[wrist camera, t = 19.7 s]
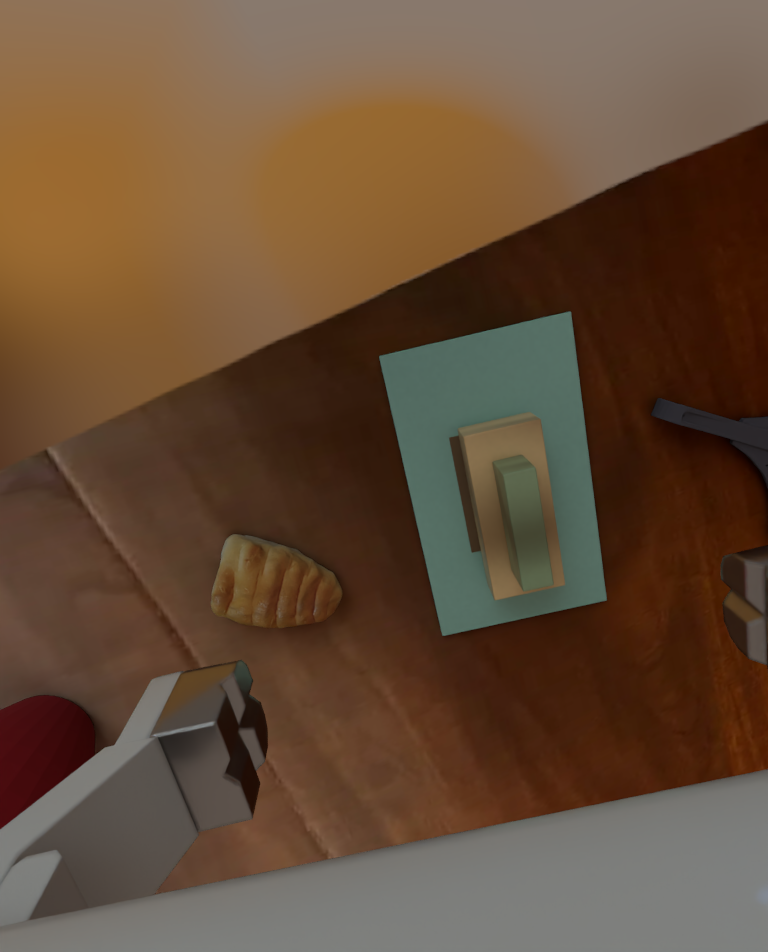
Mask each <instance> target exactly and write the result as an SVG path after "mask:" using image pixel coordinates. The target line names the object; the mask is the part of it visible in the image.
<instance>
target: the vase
mask: <svg viewBox="0 0 768 952" xmlns="http://www.w3.org/2000/svg"><path fill="white" fill-rule="evenodd" d="M94 755H95V731H94V727H93V724H92V722H91V720H90V718H89V717H88V715H87V714H86V713H85V712H84V711H83V710H82V709H81V708H80V707H79V706H77V705H76V704H74V703H72V702H71V701H68V700H66V699H64V698H60V697H56V696H49V695H42V696H34V697H30V698H27V699H24V700H22V701H20V702H17V703H15V704H13V705H11V706H8V707H6V708H4V709H2V710H0V829H2V828H3V827H4V826H5V825H7V824H8V823H9V822H10V821H12V820H13V819H14V818H16V817H17V816H18V815H19V814H21V813H22V812H23V811H24V810H26V809H27V808H28V807H30V806H31V805H32V804H33V803H35V802H36V801H37V800H39V799H40V798H41V797H42V796H44V795H45V794H46V793H47V792H49V791H50V790H51V789H53V788H54V787H55V786H56V785H58V784H59V783H60V782H61V781H63V780H64V779H65V778H67V777H68V776H69V775H70V774H72V773H73V772H74V771H75V770H77V769H78V768H79V767H81V766H82V765H83V764H84V763H86V762H87V761H88V760H90V759H91V758H92V757H93V756H94Z"/></svg>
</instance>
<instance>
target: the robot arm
mask: <svg viewBox="0 0 768 952" xmlns="http://www.w3.org/2000/svg"><path fill="white" fill-rule="evenodd" d="M721 580H722V581H723V582H724V583H725V584H726V585H727V586H728V587H729V588H730V589H731V590H730V592H729V593H728V595H727V597H726V598H725V600H724V601H723V603H722V604H723V614H724V622H725V624H726V627H727V630H728V632H729V635H730V637H731V639H732V640H733V642H734V643H735V645H736V646H737V648H738V649H739V650H740V651H741V652H742V653H743V654H744V655H745V656H746V657H747V658H748V659H751V660H754V661H757V662H759V663H762V664H765V665H767V667H768V545H766V546H762V547H758V548H754V549H749V550H745V551H741V552H737V553H733V554H729V555H725V556H723V559H722V563H721ZM252 683H253V679H252V677H251V674H250V672H249V669H248V667H247V664H245V663H244V662H243V661H242V660H238V661H233V662H228V663H223V664H218V665H213V666H208V667H203V668H198V669H192V670H187V671H185V672H183V671H181V672H176V673H172V674H168V675H164V676H160V677H157V678H155V679H153V680H151V682H150V683H149V685H148V687H147V689H146V690H145V692H144V694H143V696H142V698H141V699H140V701H139V703H138V705H137V706H136V708H135V710H134V712H133V713H132V715H131V717H130V719H129V720H128V722H127V724H126V726H125V727H124V729H123V731H122V733H121V735H120V736H119V738H118V740H117V742H116V743H115V745H114V746H109V747H105V748H104V749H102V750H101V751H100V752H98V753H97V754H96V755H95V756H93V757H92V758H91V759H90V760H88V761H87V762H86V763H84V764H83V765H82V766H81V767H79V768H78V769H77V770H75V771H74V772H73V773H72V774H70V775H69V776H68V777H67V778H65V779H64V780H63V781H61V782H60V783H59V784H58V785H56V786H55V787H54V788H53V789H51V790H50V791H49V792H47V793H46V794H45V795H44V796H42V797H41V798H40V799H39V800H37V801H36V802H35V803H33V804H32V805H31V806H30V807H28V808H27V809H26V810H24V811H23V812H22V813H21V814H19V815H18V816H17V817H16V818H14V819H13V820H12V821H10V822H9V823H8V824H7V825H5V826H4V827H3V828H2V829H0V952H768V769H767V770H762V771H757V772H752V773H748V774H743V775H738V776H733V777H728V778H723V779H718V780H713V781H708V782H704V783H699V784H694V785H689V786H684V787H679V788H674V789H669V790H664V791H660V792H655V793H650V794H645V795H640V796H635V797H631V798H626V799H621V800H616V801H611V802H606V803H601V804H596V805H591V806H586V807H582V808H577V809H572V810H567V811H562V812H557V813H552V814H547V815H542V816H538V817H533V818H528V819H523V820H518V821H513V822H508V823H503V824H498V825H493V826H489V827H484V828H479V829H474V830H469V831H464V832H459V833H454V834H449V835H444V836H440V837H435V838H430V839H425V840H420V841H415V842H410V843H405V844H400V845H396V846H391V847H386V848H381V849H376V850H371V851H366V852H361V853H356V854H351V855H347V856H342V857H337V858H332V859H327V860H322V861H317V862H312V863H307V864H302V865H298V866H293V867H288V868H283V869H278V870H273V871H268V872H263V873H258V874H254V875H249V876H244V877H239V878H234V879H229V880H224V881H219V882H214V883H209V884H205V885H200V886H195V887H190V888H185V889H180V890H175V891H170V892H165V893H160V894H156V895H154V894H155V892H156V891H157V890H158V888H159V887H160V886H161V884H162V883H163V882H164V881H165V879H166V878H167V877H168V875H169V874H170V873H171V871H172V870H173V869H174V867H175V866H176V865H177V863H178V862H179V861H180V859H181V858H182V857H183V855H184V854H185V853H186V851H187V850H188V849H189V847H190V846H191V845H192V843H193V842H194V841H195V839H196V838H197V837H198V836H199V834H198V832H201V831H205V830H209V829H213V828H217V827H221V826H226V825H230V824H234V823H238V822H242V821H246V820H251V819H252V818H253V814H254V809H255V805H256V800H257V796H258V791H259V787H260V781H259V778H258V776H257V773H256V770H257V769H258V768H259V767H260V766H261V765H262V764H263V763H264V762H265V758H266V753H267V748H268V731H267V724H266V719H265V714H264V711H263V708H262V705H261V702H259V701H258V700H256V699H255V698H254V697H252V696H251V695H249V693H250V690H251V686H252Z"/></svg>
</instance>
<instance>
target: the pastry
mask: <svg viewBox="0 0 768 952" xmlns="http://www.w3.org/2000/svg"><path fill="white" fill-rule="evenodd" d="M342 593H343V592H342V588H341V586H340V584H339V582H338V580H337V578H336V576H335V575H334V573H333V572H332V571H329V570H327V569H326V568H324V567H323V566H321V565H319V564H317V563H316V562H315V561H314V560H313V559H311V558H308V557H306V556H304V555H303V554H302V553H301V552H300V551H298V550H297V549H294V548H289V547H286V546H284V545H280V544H276V543H274V542H272V541H271V542H269V541H267V540H263V539H261V538H257V537H254V536H243V535H238V534H233V535H231V536H229V537H228V538H227V539H226V541H225V544H224V546H223V550H222V552H221V561H220V567H219V569H218V573H217V577H216V579H215V583H214V586H213V589H212V600H211V609H212V611H213V612H214V613H215V614H216V615H217V616H224V617H227V618H229V619H231V620H233V621H235V622H238V623H240V624H243V625H253V626H260V627H265V628H284V627H295V626H298V625H303V624H312V623H318V622H322V621H325V620H326V619H327V618H328V617H329V616H331V615H332V614H333V612H334V611H335V610H336V609H337V606H338V605H339V602H340V600H341V598H342Z"/></svg>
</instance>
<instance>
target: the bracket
mask: <svg viewBox="0 0 768 952" xmlns="http://www.w3.org/2000/svg"><path fill="white" fill-rule="evenodd" d="M651 415H652V416H654V417H657V418H660V419H663V420H666V421H669V422H672V423H675V424H679V425H682V426H686V427H689V428H693V429H697V430H700V431H704V432H707V433H711V434H715V435H718V436H722V437H725V438H729V439H731V440H730V443H731V444H732V445H733V446H735V447H736V448H737V449H739V450H740V451H741V452H743V453H744V454H745V455H746V456H747V457H748V458H749V459H750V460H751V461H752V462H753V463H754V464H755V466H756V467H757V468H758V469H759V471H760V472H761V473H762V476H763V478H764V481H765V483H766V486H767V488H768V417H756V418H741V419H740V421H739V422H738V421H735V420H731V419H728V418H724V417H721V416H718V415H714V414H711V413H708V412H704V411H701V410H698V409H694V408H691V407H688V406H684V405H681V404H678V403H674V402H671V401H667V400H664V399H661V398H658V399H657V401H656V404H655V406H654V408H653V411H652V413H651Z"/></svg>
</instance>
